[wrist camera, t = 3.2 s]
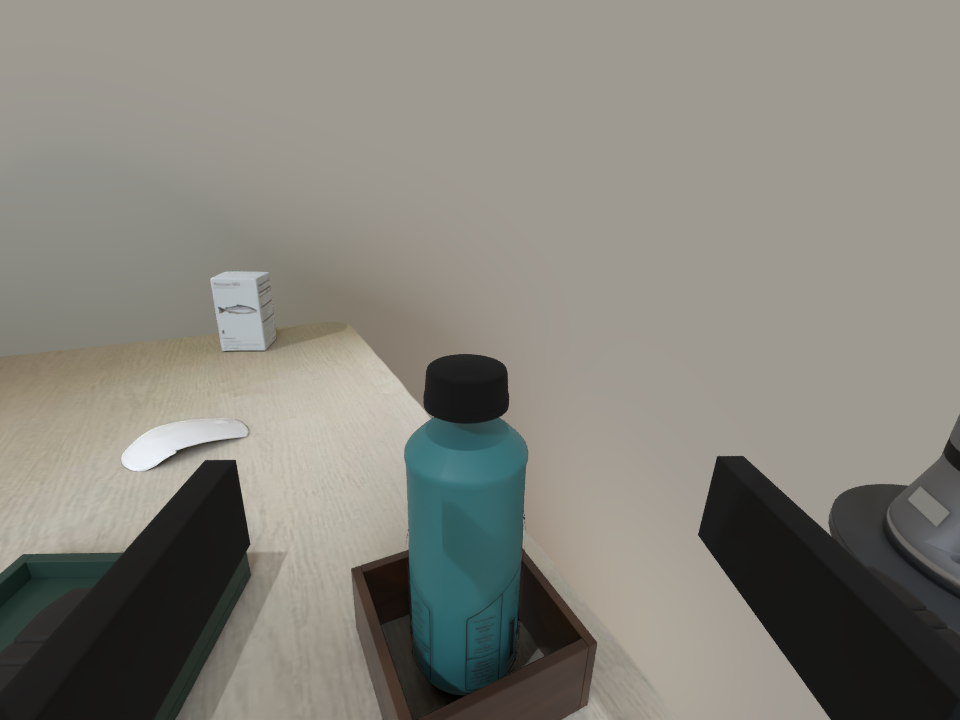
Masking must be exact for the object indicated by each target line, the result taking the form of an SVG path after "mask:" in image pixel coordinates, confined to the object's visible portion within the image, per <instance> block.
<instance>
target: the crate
mask: <svg viewBox="0 0 960 720" xmlns="http://www.w3.org/2000/svg"><path fill="white" fill-rule="evenodd" d="M408 553H409V550H407V551H404V552H401V553H398V554H395V555H392V556H388V557H385V558H382V559H379V560H376V561H373V562H370V563H367V564H364V565H361V566H358V567H355V568H352V569H351V573H352V584H353V595H354V606H355V617H356V627H357V631H358V634H359V638H360V641H361V645H362V648H363V652H364V655H365V659H366V662H367V666H368V669H369V673H370V676H371V680H372V683H373V687H374V690H375V694H376V697H377V701H378V704H379V708H380V711H381V715H382V718H383V720H413V719H412V716H411V713H410V710H409V707H408V704H407V701H406V698H405V695H404V692H403V689H402V686H401V683H400V680H399V678H398V675H397V672H396V669H395V666H394V663H393V660H392V657H391V654H390V651H389V648H388V645H387V642H386V639H385V636H384V634H383V631H382V628H381V624H383V623H386V622H389V621H391V620H394V619H396V618H399V617H401V616H404V615H407V614H409V613H410V608H409V606H410V598H409V591H408V590H409V585H410V576H408V571H409V570H410V568H407V567H408V566H409V556H408V555H409V554H408ZM523 553H524V556H523V558H522V559H523V560H522V559H521V560H522V561H521V563H522V564H523V563H524V564H523V567H524V569H523V568H522V564H521V568H522V570H521V573H522V571H523V570H524V572H523V574H520V575H521V576H520V579H521V580H520V588H522V590H521V589H520V590H519V594H520V595H519V597H520V599H519V606H518V611H519V608H520V614H519V612H518V615H519V618H520V615H521V618H520V620H521V621H522V623H523V624H524V626H525V627H526V629H527V630H528V632H529V633H530V635H531V636H532V638H533V639H534V641H535V642H536V644H537V646H538V647H539V649H540V650H541V652H542V653H543V655H544V656H545V657H543V658H541V659H539V660H537V661H535V662H533V663H531V664H529V665H527V666H525V667H523V668H521V669H519V670H517V671H515V672H513V673H511V674H509V675H507V676H505V677H503V678H501V679H499V680H497V681H495V682H493V683H491V684H489V685H486V686H484V687H482V688H480V689H478V690H476V691H474V692H472V693H470V694H468V695H466V696H464V697H462V698H460V699H458V700H456V701H454V702H452V703H450V704H448V705H446V706H444V707H442V708H440V709H438V710H436V711H434V712H432V713H430V714H428V715H426V716H424V717H422V718H420V719H418V720H561V719H563V718H565V717H567V716H568V715H570V714H572V713H574V712H575V711H577V710H579V709H580V708H582V707H584V706H586V705H587V703H588V697H589V691H590V684H591V678H592V672H593V666H594V660H595V653H596V647H597V642H596V640H595V639H594V638H593V637H592V635H591V634H590V633H589V632H588V630H587V629H586V628H585V627H584V625H583V624H582V623H581V622H580V620H579V619H578V618H577V616H576V615H575V614H574V613H573V611H572V610H571V609H570V608H569V606H568V605H567V604H566V603H565V601H564V600H563V599H562V598H561V596H560V595H559V594H558V593H557V591H556V590H555V589H554V588H553V586H552V585H551V584H550V582H549V581H548V580H547V579H546V577H545V576H544V575H543V574H542V572H541V571H540V570H539V569H538V567H537V566H536V565H535V564H534V562H533V561H532V560H531V559H530V557H529V556H528V555H527V554H526V552H525V551H524V550H523V548H522V555H523ZM407 559H408V560H407ZM406 560H407V561H406ZM409 575H410V572H409ZM522 578H523V581H522ZM407 580H408V581H407ZM521 581H522V582H521ZM407 583H408V584H407ZM521 584H522V585H523V587H522V585H521ZM521 592H522V593H521ZM521 595H522V596H521ZM521 600H522V603H521ZM408 602H409V604H408Z"/></svg>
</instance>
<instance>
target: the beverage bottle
mask: <svg viewBox="0 0 960 720" xmlns="http://www.w3.org/2000/svg"><path fill="white" fill-rule="evenodd" d="M508 406H509V393H508V374H507V369H506V367H505V366H504V364H503V363H501V362H500V361H498V360H496V359H493V358H490V357H486V356H481V355H472V354H458V355H450V356H445V357H441V358H439V359H436V360H434V361H433V362H432V363H430V364H429V365H428V367H427V370H426V381H425V391H424V408H425V410H426V411H427V412H428V413H429V414H430V415H432V416H434V418H432V419H431V420H429V421H428V422H426V423H425V424H424V425H422V426H421V427H420V428H419V429H418V430H417V431H416V432H414V433H413V434H412V436H411V437H410V438H409V440H408V442H407V444H406V446H405V454H404V458H405V463H406V475H407V499H408V524H409V529H408V531H409V553H408V554H409V555H408V556H409V566H408V567H407V568H410V570H409V571H408V576H410V585H409V590H408V591H409V598H410V606H409V608H410V616H411V620H412V626H413V628H412V626H411V624H410V626H411V632H410V633H411V634H410V636H411V635H412V633H413V645H414V647H413V648H414V654H415V658H416V661H417V663H418V665H419V667H420V668H419V667H418V668H419V669H421V670H420V671H421V672H422V673H423V674H424V676H425V677H426V678H427V679H428V681H429V682H431V683H432V684H433V685H434V686H435V687H437V688H438V689H440V690H442V691H444V692H447V693H450V694H455V695H468V694H470V693H472V692H474V691H476V690H478V689H480V688H482V687H484V686H486V685H489V684H491V683H493V682H495V681H497V680H499V679H501V678H503V677H504V676H505V674H506V673H507V672H508V671H509V668H511V667H512V666H511V663H512V661H513V659H514V656H515V655H516V654H515V650H516V638H517V631H518V630H517V629H519V628H520V626H519V628H518V623H517V622H518V621H519V615H518V612H519V614H520V608H519V611H518V606H519V599H520V597H519V595H520V594H519V590H520V589H521V590H522V588H520V580H521V579H520V576H521V575H520V574H523V572H524V570H523V571H522V573H521V570H522V568H523V569H524V567H523V564H524V563H523V564H522V563H521V561H522V560H523V559H522V558H523V556H524V553H523V555H522V541H523V518H524V517H523V512H524V490H525V473H526V464H527V461H528V449H527V445H526V443H525V441H524V439H523V438H522V437H521V435H519V433H518V432H517V431H516V430H515V429H513V428H512V427H511V426H510V425H509V424H508V423H506V422H505V421H503V420H502V419H500V418H499V417H500V416H502V415H503V414H504V413H505V412H506V411H507V410H508ZM524 519H525V518H524ZM407 536H408V534H407ZM406 542H407V540H406ZM525 542H526V541H525ZM521 559H522V560H521ZM407 560H408V559H407ZM407 560H406V561H407ZM521 564H522V568H521ZM409 572H410V575H409ZM407 581H408V580H407ZM522 581H523V578H522ZM522 581H521V582H522ZM407 584H408V583H407ZM521 585H522V584H521ZM522 587H523V585H522ZM521 593H522V592H521ZM521 596H522V595H521ZM521 603H522V600H521ZM408 604H409V602H408ZM520 618H521V615H520ZM412 630H413V632H412ZM519 634H520V630H519ZM518 637H519V636H518ZM410 641H411V640H410ZM518 645H519V643H518ZM517 648H518V647H517ZM411 651H412V655H413V649H412V650H411ZM516 653H518V652H517V651H516ZM413 658H414V657H413ZM515 659H516V658H515ZM514 661H515V660H514ZM415 663H416V662H415ZM513 663H514V662H513ZM416 665H417V664H416ZM418 665H417V666H418ZM512 665H513V664H512ZM510 666H511V667H510Z"/></svg>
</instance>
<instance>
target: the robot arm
mask: <svg viewBox="0 0 960 720" xmlns="http://www.w3.org/2000/svg"><path fill="white" fill-rule="evenodd" d="M883 530H884V533H885V536H886V538H887V539H888V541H889V543H890V544H891V545H892V547H893V548H894V549H895V550H896V552H897V553H898V554H899V555H900V556H901V557H902V558H903V559H904V560H905V561H906V562H907V563H909V564H910V565H911V566H912V567H913V568H914V569H916V570H917V571H918V572H919V573H921V574H922V575H923V576H925V577H926V578H927V579H929V580H930V581H931V582H933V583H934V584H936V585H937V586H939V587H940V588H942V589H943V590H945V591H947V592H948V593H950V594H952V595H953V596H955V597H957V598H958V599H960V415H959V417H958V419H957V421H956V424H955V426H954V428H953V430H952V432H951V435H950V437H949V440H948V442H947V444H946V446H945V448H944V451H943V453H942V455H941V457H940V458H939V459H938V460H937V461H936V462H935V463H934V464H933V465H932V466H931V467H930V468H928V469H927V470H926V471H925V472H924V473H923V474H922V475H921V476H919V477H918V478H917V479H916V480H915V481H914V482H913V483H912V484H910V485H909V486H908V487H907V488H906V489H905V490H904V491H903V492H902V493H901V494H899V495H898V496H897V497H896V498H895V499H894V501H893V502H892V503H891V504H890V506H889V508H888V511H887V513H886V515H885V518H884V521H883ZM698 536H699V537H700V538H701V540H702V541H703V542H704V544H705V545H706V547H707V548H708V550H709V551H710V552H711V554H712V555H713V556H714V558H715V559H716V561H717V562H718V563H719V565H720V566H721V568H722V569H723V570H724V572H725V573H726V575H727V576H728V577H729V579H730V580H731V581H732V583H733V584H734V586H735V587H736V588H737V590H738V591H739V593H740V594H741V595H742V597H743V598H744V600H745V601H746V602H747V604H748V605H749V606H750V608H751V609H752V611H753V612H754V613H755V615H756V616H757V618H758V619H759V620H760V622H761V623H762V625H763V626H764V627H765V629H766V630H767V632H768V633H769V634H770V636H771V637H772V638H773V640H774V641H775V643H776V644H777V645H778V647H779V648H780V650H781V651H782V652H783V654H784V655H785V656H786V658H787V659H788V661H789V662H790V663H791V665H792V666H793V668H794V669H795V670H796V672H797V673H798V675H799V676H800V677H801V679H802V680H803V682H804V683H805V684H806V686H807V687H808V688H809V690H810V691H811V693H812V694H813V695H814V697H815V698H816V700H817V701H818V702H819V704H820V705H821V707H822V708H823V709H824V711H825V712H826V713H827V715H828V716H829V718H830V719H831V720H960V635H959V634H958V633H957V632H956V631H955V630H953V629H949V628H948V626H947V623H945V622H944V621H943V620H942V619H941V618H940V617H939V616H937V615H936V614H935V613H934V612H933V611H932V610H928V609H927V608H926V605H925V604H924V603H923V602H921V601H920V600H919V599H918V598H917V597H916V596H915V595H913V594H912V593H911V592H910V591H909V590H908V589H907V588H905V587H904V586H903V585H902V584H901V583H899V582H897V581H896V580H894V579H892V578H891V577H889V576H888V575H886V574H884V573H883V572H881V571H879V570H878V569H876V568H875V567H873V566H863V565H862V564H861V563H860V562H859V561H858V560H857V559H855V558H854V557H853V556H852V555H851V554H850V553H849V552H848V551H847V550H846V549H844V548H843V547H842V546H841V545H840V544H839V543H838V542H837V541H836V540H835V539H834V538H832V537H831V536H830V535H829V534H828V533H827V532H826V531H825V530H824V529H823V528H821V527H820V526H819V525H818V524H817V523H816V522H815V521H814V520H813V519H812V518H810V517H809V516H808V515H807V514H806V513H805V512H804V511H803V510H802V509H801V508H799V507H798V506H797V505H796V504H795V503H794V502H793V501H792V500H791V499H790V498H789V497H787V496H786V495H785V494H784V493H783V492H782V491H781V490H780V489H779V488H778V487H776V486H775V485H774V484H773V483H772V482H771V481H770V480H769V479H768V478H767V477H765V476H764V475H763V474H762V473H761V472H760V471H759V470H758V469H757V468H756V467H754V466H753V465H752V464H751V463H750V462H749V461H748V460H747V459H746V458H745V457H744V456H718V457H717V459H716V464H715V468H714V472H713V476H712V480H711V484H710V488H709V492H708V496H707V501H706V505H705V509H704V513H703V517H702V521H701V525H700V530H699V533H698ZM249 546H250V540H249V534H248V528H247V522H246V517H245V511H244V505H243V499H242V494H241V488H240V482H239V476H238V471H237V465H236V460H205V461H204V462H203V463H202V464H201V466H200V467H199V468H198V469H197V470H196V471H195V472H194V474H193V475H192V476H191V477H190V478H189V479H188V480H187V481H186V483H185V484H184V485H183V486H182V487H181V488H180V489H179V490H178V492H177V493H176V494H175V495H174V496H173V497H172V498H171V500H170V501H169V502H168V503H167V504H166V505H165V506H164V507H163V509H162V510H161V511H160V512H159V513H158V514H157V515H156V517H155V518H154V519H153V520H152V521H151V522H150V523H149V524H148V526H147V527H146V528H145V529H144V530H143V531H142V532H141V534H140V535H139V536H138V537H137V538H136V539H135V540H134V541H133V543H132V544H131V545H130V546H129V547H128V548H127V549H126V551H125V552H124V553H123V554H122V555H121V556H120V557H119V558H118V560H117V561H116V562H115V563H114V564H113V565H112V566H111V568H110V569H109V570H108V571H107V572H106V573H105V574H104V575H103V577H102V578H101V579H100V580H99V581H98V582H97V583H96V585H95V586H94V587H93V588H77V589H72V590H70V591H69V592H67V593H66V594H64V595H63V596H61V597H60V598H59V599H57V600H56V601H54V602H53V603H51V604H50V605H49V606H47V607H46V608H44V609H43V610H41V611H40V612H39V613H38V614H37V615H36V616H35V617H34V618H33V619H32V620H31V621H30V622H29V624H28V625H27V626H26V627H25V628H24V629H23V630H22V631H21V632H20V633H19V634H18V635H17V636H16V637H15V638H14V639H15V640H14V642H13V643H12V644H8V645H7V647H6V648H5V649H4V650H3V651H2V652H1V653H0V720H154V719H155V717H156V715H157V713H158V711H159V709H160V708H161V706H162V704H163V702H164V700H165V699H166V697H167V695H168V693H169V691H170V689H171V688H172V686H173V684H174V682H175V680H176V679H177V677H178V675H179V673H180V671H181V669H182V668H183V666H184V664H185V662H186V660H187V659H188V657H189V655H190V653H191V651H192V649H193V648H194V646H195V644H196V642H197V640H198V639H199V637H200V635H201V633H202V631H203V629H204V628H205V626H206V624H207V622H208V620H209V618H210V617H211V615H212V613H213V611H214V609H215V608H216V606H217V604H218V602H219V600H220V598H221V597H222V595H223V593H224V591H225V589H226V588H227V586H228V584H229V582H230V580H231V578H232V577H233V575H234V573H235V571H236V569H237V568H238V566H239V564H240V562H241V560H242V558H243V557H244V555H245V553H246V551H247V549H248V548H249Z"/></svg>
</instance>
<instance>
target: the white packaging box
mask: <svg viewBox="0 0 960 720" xmlns="http://www.w3.org/2000/svg"><path fill="white" fill-rule="evenodd" d="M210 281H211V286H212V293H213V299H214V306H215V312H216V317H217V324H218V329H219V336H220V342H221V348H222V351H240V350H257V351H266V350H267V349H268V347H269V346H270V345H271V344H272V343H273V342H274V341H275V340H276V330H275V320H274V312H273V303H272V295H271V287H270V278H269V272H223V273H221V274H219V275H217V276H215V277H213V278H211V279H210Z"/></svg>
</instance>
